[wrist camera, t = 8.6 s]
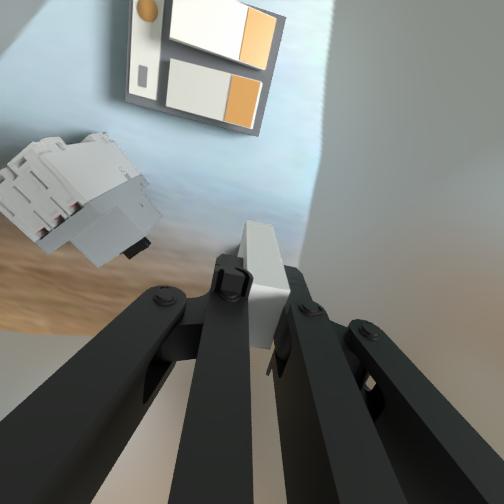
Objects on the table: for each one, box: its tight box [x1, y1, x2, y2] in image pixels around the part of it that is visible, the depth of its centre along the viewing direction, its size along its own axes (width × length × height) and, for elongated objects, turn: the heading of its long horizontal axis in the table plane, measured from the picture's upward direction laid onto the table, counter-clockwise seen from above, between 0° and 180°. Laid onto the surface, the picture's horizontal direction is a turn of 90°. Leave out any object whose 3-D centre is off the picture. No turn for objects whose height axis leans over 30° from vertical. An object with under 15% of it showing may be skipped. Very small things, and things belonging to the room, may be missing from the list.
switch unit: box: [125, 0, 286, 137], centre depth 32 cm, size 16×12×5 cm
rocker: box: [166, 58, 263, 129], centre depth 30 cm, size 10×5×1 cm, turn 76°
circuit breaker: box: [0, 132, 162, 268], centre depth 34 cm, size 8×14×15 cm, turn 33°
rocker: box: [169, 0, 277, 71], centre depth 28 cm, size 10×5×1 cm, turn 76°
